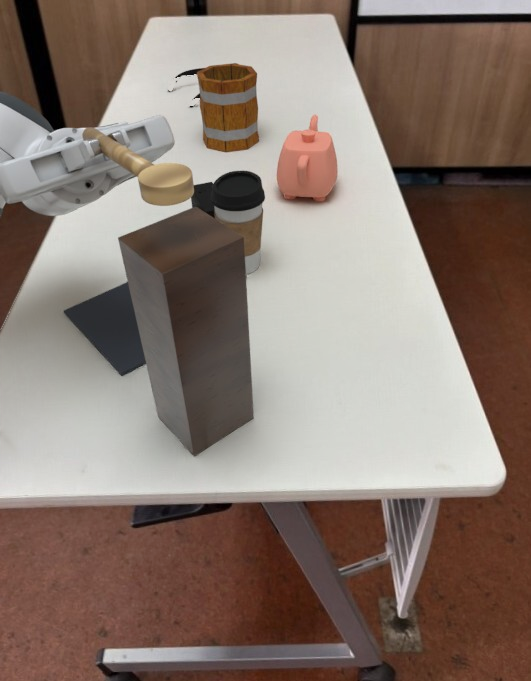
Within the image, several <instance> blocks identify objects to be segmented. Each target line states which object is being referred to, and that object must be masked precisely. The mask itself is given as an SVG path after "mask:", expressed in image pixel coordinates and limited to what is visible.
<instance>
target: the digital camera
mask: <svg viewBox="0 0 531 681" xmlns="http://www.w3.org/2000/svg"><path fill="white" fill-rule="evenodd" d="M213 184H214V182H213V181H208V182H203V183H197V184H194V194H193V196H192V197H191V198H190V201H191V208H193V207H197V208H199V209H200V210H202V211H204V212H205V213H207V214H208V215H210V216H211V217H213V218H215V215H214V210H215V208H214V205H213V204H212V203H211V193H212V189H213Z"/></svg>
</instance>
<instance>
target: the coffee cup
mask: <svg viewBox="0 0 531 681" xmlns="http://www.w3.org/2000/svg"><path fill="white" fill-rule="evenodd" d="M262 182H263V181H262V178H261V177H260V175H258V174H257V173H255V172H253V171H250V170H232V171H229V172H226V173H223V174H222V175H220V176H218V177H217V178H216V179H215V180H214V182H213V189H212V193H211V203H212V204H213V205H214V208H215V210H214V215H215V219H216V220H218V221H219V222H221V223H222V224H224V225H225V226H227V227H229V228H230V229H232V230H233V231H235V232H236V233H238V234H239V235H241V236H243V237H244V248H245V267H246V275H249V274H252V273H254V272H256V271H257V270H258V269H259V267H260V260H261V247H262V234H263V221H264V208H263V203H264V202H265V200H266V194H265V190H264V187H263V183H262Z"/></svg>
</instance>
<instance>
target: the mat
mask: <svg viewBox="0 0 531 681" xmlns="http://www.w3.org/2000/svg"><path fill="white" fill-rule="evenodd" d="M62 311H63V314H64V315H65V316H66V317H67V318H68V319H69V321H71V322H72V323H73V325H74V326H75V327H76V328H77V329H78V330H79V331H80V332H81V334H82V335H83V336H84V337H85V338H86V340H88V341H89V342H90V344H92V346H94V348H95V349H96V350H97V351H98V352H99V353H100V354H101V356H102V357H104V359H106V361H108V363H109V364H110V365H111V366H112V368H114V369H115V371H117V372H118V374H119V375H120V376H121V377H123V376H125V375H127V374H129V373H131V372H133V371H135V370H136V369H138V368H140V367H142V366H143V365H146V360H145V356H144V352H143V347H142V343H141V338H140V334H139V329H138V325H137V320H136V316H135V311H134V307H133V303H132V298H131V294H130V289H129V285H128V281H127V282H126V281H125V282H124V283H122V284H119V285H117V286H115V287H113V288H111V289H109V290H106V291H104V292H101V293H99V294H97V295H95V296H93V297H90V298H88V299H85V300H84V301H82V302H79V303H76V304H75V305H73V306H71V307H68V308H65V309H63V310H62Z"/></svg>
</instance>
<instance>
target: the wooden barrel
mask: <svg viewBox="0 0 531 681" xmlns="http://www.w3.org/2000/svg"><path fill="white" fill-rule="evenodd" d="M203 68H204V69H202V70H200V71H198V72H197V74H196V76H197V81H198V89H199V93H200V100H199V110H200V114H201V120H202V141H203V143H204V145H205V147H206V149H211V150H214V151H218V152H224V153H230V152H237V151H245V150H250V148H252V147H253V146H255V145H256V144H258V143H259V142H260V136H259V129H258V128H259V127H258V124H259V123H258V118H259V104H258V96H257V95H258V94H257V82H258V81H257V80H258V73H257V71H256V70H255V69H254V68H253V66H251V65H245V64H239V63H236V62H234V63H224V64H214V65H209V66H207V67H203Z"/></svg>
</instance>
